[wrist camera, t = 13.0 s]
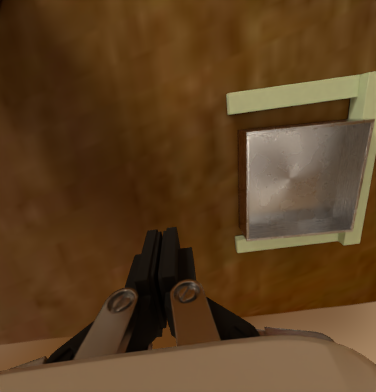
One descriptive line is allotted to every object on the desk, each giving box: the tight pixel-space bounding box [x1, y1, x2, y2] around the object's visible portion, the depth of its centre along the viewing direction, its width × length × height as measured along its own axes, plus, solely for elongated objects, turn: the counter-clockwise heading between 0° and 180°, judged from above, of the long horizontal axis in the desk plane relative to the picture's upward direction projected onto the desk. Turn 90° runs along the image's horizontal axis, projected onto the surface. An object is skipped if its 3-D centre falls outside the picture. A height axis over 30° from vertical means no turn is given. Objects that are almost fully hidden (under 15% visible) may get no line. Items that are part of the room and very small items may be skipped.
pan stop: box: [226, 71, 376, 253], centre depth 24 cm, size 19×15×2 cm
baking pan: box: [238, 119, 375, 241], centre depth 23 cm, size 12×12×4 cm
